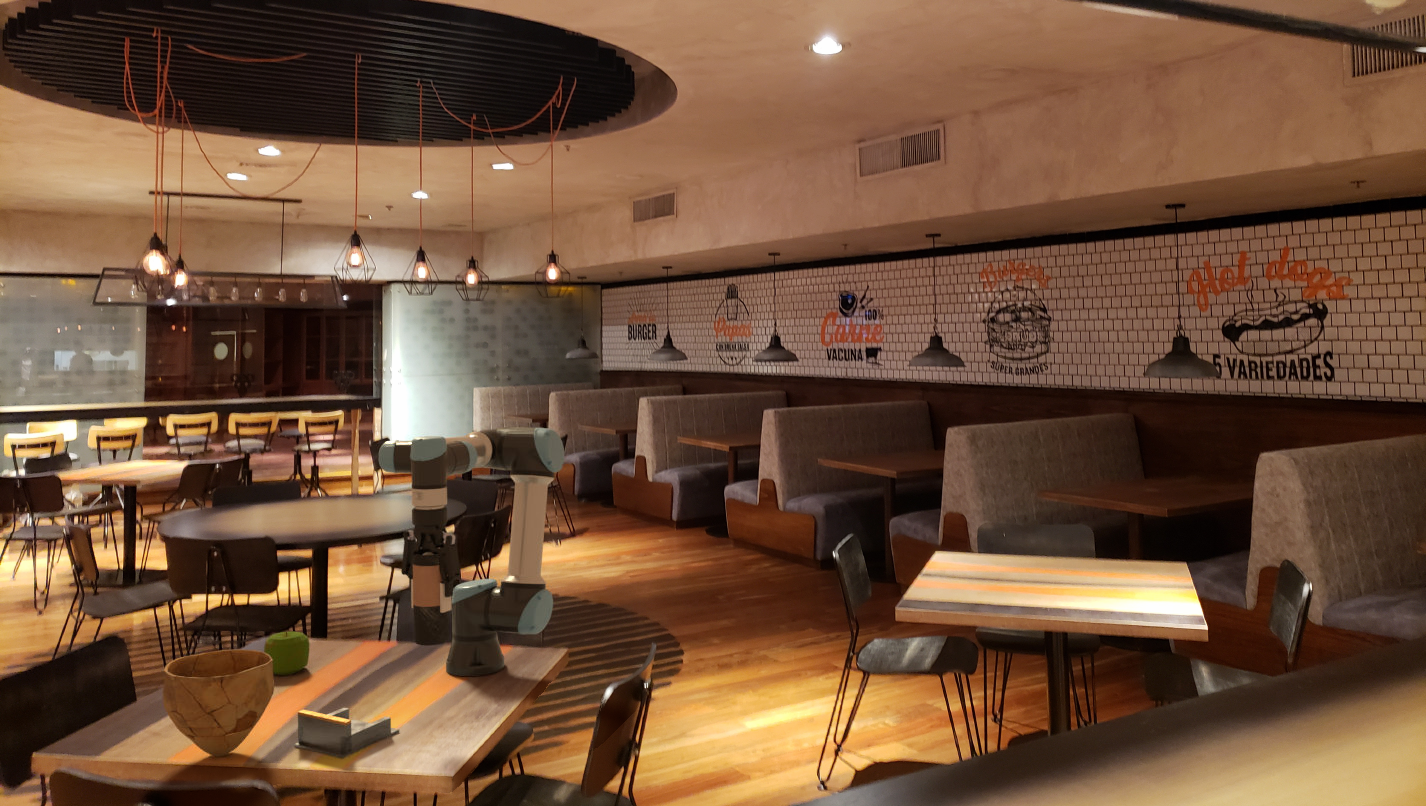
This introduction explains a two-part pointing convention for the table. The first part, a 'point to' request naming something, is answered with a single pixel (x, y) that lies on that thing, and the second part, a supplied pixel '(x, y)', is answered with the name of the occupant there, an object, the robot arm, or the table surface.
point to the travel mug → (428, 600)
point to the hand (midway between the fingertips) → (431, 608)
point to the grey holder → (339, 732)
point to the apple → (287, 652)
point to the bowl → (218, 696)
